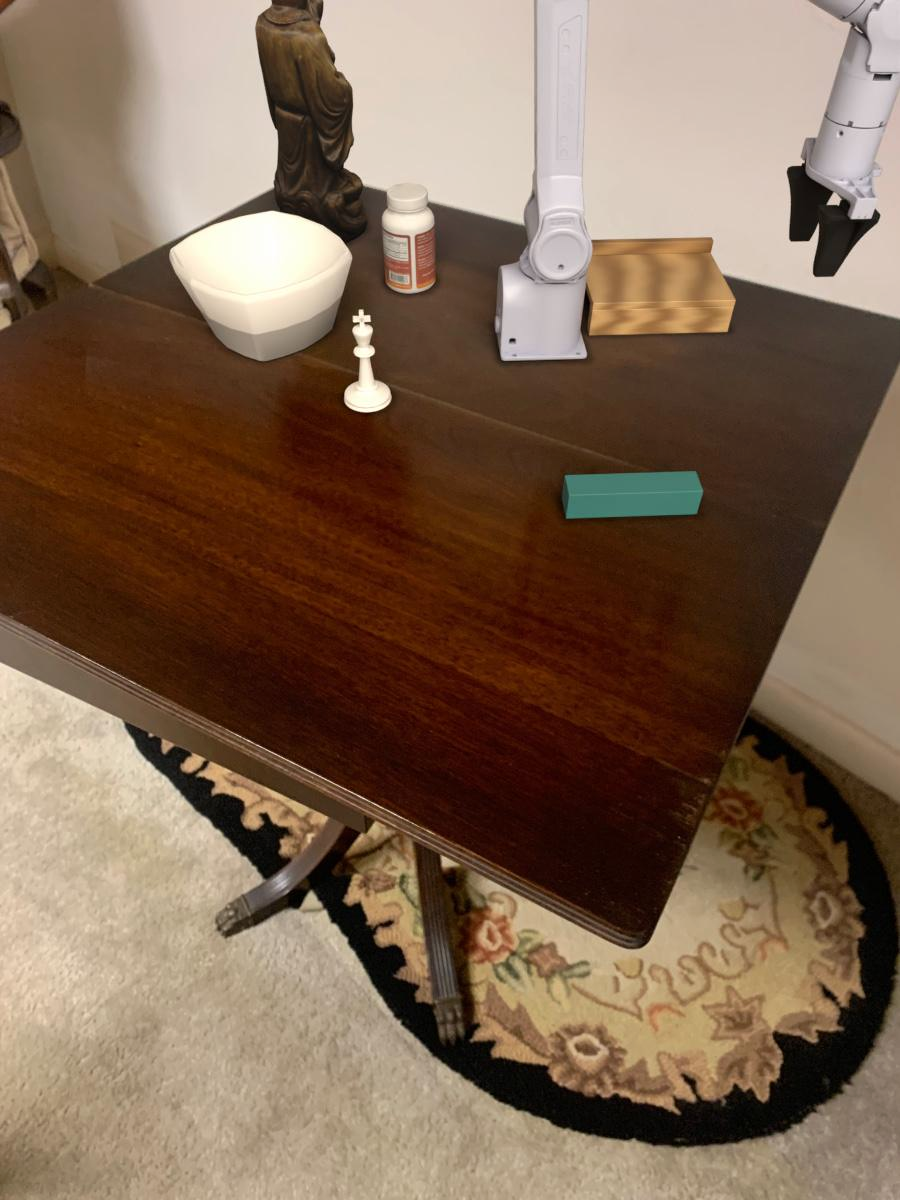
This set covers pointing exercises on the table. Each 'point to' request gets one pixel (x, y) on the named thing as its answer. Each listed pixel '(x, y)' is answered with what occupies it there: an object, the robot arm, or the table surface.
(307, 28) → the sculpture
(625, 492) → the stick
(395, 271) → the pill bottle
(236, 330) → the bowl
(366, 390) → the chess piece
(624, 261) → the wooden stepped tray
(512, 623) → the table surface
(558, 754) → the table surface
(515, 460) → the table surface
